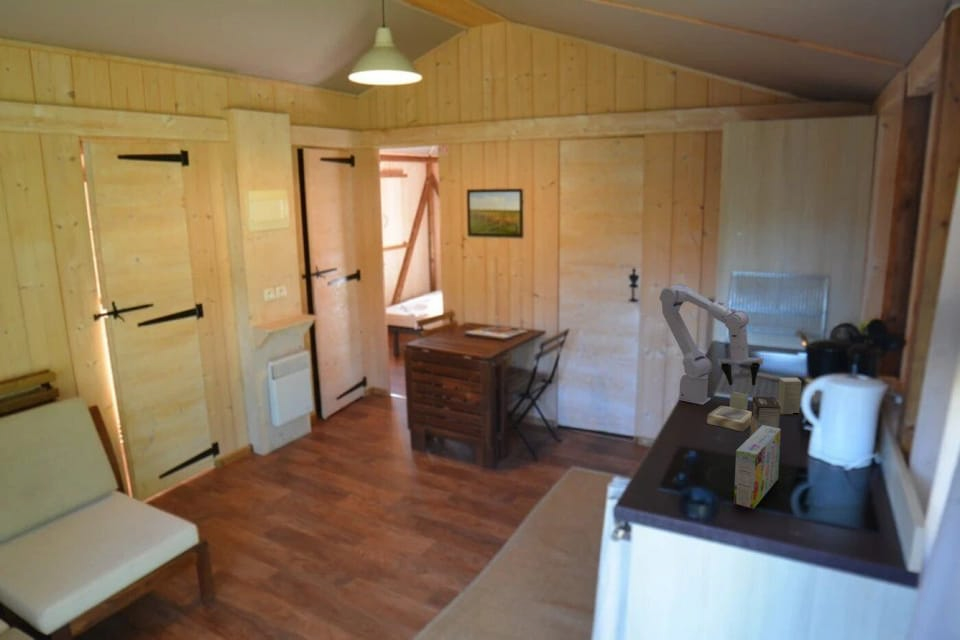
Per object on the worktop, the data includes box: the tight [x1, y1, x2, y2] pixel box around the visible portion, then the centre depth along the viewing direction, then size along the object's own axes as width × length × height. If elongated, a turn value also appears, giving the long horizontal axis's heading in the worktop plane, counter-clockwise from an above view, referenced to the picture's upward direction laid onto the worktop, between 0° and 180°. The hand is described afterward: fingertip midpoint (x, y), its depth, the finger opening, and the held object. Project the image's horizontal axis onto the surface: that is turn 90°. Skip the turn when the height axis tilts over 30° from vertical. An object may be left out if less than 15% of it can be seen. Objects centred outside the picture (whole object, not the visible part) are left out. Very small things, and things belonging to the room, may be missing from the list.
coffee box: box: [749, 396, 781, 438], centre depth 197 cm, size 9×6×16 cm
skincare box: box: [777, 376, 802, 415], centre depth 229 cm, size 6×4×12 cm
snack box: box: [733, 425, 782, 510], centre depth 173 cm, size 21×6×15 cm, turn 141°
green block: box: [729, 391, 749, 411], centre depth 232 cm, size 5×5×6 cm
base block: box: [706, 404, 752, 432], centre depth 222 cm, size 12×12×3 cm
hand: (742, 384), depth 230 cm, fingers open, 7 cm apart
